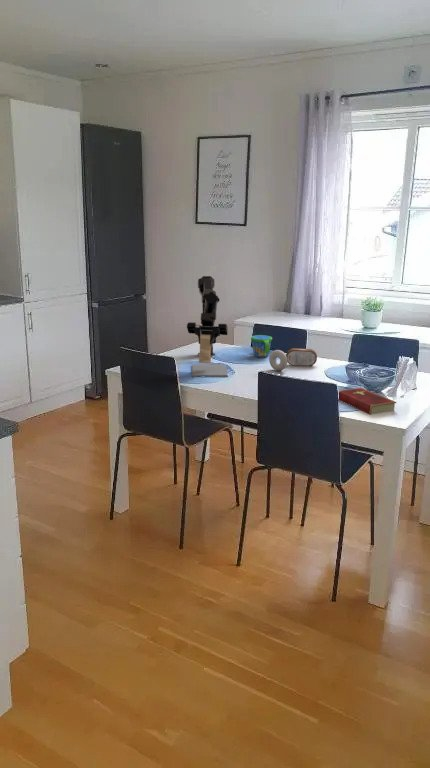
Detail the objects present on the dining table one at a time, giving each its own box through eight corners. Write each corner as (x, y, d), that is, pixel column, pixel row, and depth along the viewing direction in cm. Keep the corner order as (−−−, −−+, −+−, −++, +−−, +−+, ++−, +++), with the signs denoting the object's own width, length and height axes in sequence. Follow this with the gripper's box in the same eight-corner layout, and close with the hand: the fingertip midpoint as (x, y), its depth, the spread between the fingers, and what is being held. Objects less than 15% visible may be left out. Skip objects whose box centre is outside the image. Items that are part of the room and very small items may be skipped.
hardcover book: (370, 416, 228) (371, 405, 227) (336, 400, 246) (337, 390, 245) (395, 411, 233) (396, 401, 232) (360, 396, 251) (361, 386, 250)
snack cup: (275, 359, 310) (276, 339, 307) (255, 360, 308) (256, 340, 305) (266, 352, 325) (266, 333, 322) (247, 353, 323) (247, 334, 320)
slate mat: (192, 365, 296) (192, 364, 296) (225, 365, 296) (225, 364, 296) (192, 376, 277) (192, 375, 276) (227, 376, 277) (227, 375, 277)
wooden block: (201, 362, 286) (202, 334, 286) (210, 363, 286) (211, 335, 285) (199, 362, 281) (200, 334, 281) (208, 363, 281) (210, 334, 280)
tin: (316, 365, 299) (317, 348, 297) (316, 367, 296) (317, 350, 294) (285, 364, 301) (286, 347, 298) (285, 366, 298) (286, 349, 295)
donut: (267, 369, 291) (267, 348, 288) (271, 368, 293) (272, 347, 290) (284, 373, 284) (284, 352, 281) (288, 372, 286) (289, 351, 284)
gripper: (187, 305, 283) (182, 333, 276) (227, 306, 280) (223, 335, 273) (191, 318, 293) (186, 346, 285) (229, 320, 290) (225, 348, 282)
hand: (205, 343), depth 281 cm, fingers closed on wooden block, 4 cm apart
